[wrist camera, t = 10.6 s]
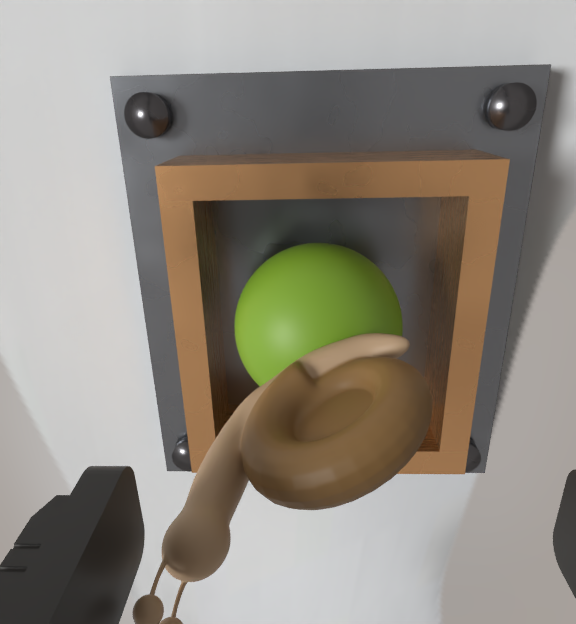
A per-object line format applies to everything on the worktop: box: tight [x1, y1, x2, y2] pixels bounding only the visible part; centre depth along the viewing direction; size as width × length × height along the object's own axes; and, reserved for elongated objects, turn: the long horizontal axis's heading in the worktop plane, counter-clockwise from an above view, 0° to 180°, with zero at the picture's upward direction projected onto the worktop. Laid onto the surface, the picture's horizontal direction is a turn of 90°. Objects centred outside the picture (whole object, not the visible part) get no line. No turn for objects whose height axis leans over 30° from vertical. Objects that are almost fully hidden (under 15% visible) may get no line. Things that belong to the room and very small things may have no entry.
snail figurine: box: [133, 243, 432, 624], centre depth 14 cm, size 5×6×12 cm
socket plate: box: [110, 64, 551, 474], centre depth 18 cm, size 16×14×4 cm
